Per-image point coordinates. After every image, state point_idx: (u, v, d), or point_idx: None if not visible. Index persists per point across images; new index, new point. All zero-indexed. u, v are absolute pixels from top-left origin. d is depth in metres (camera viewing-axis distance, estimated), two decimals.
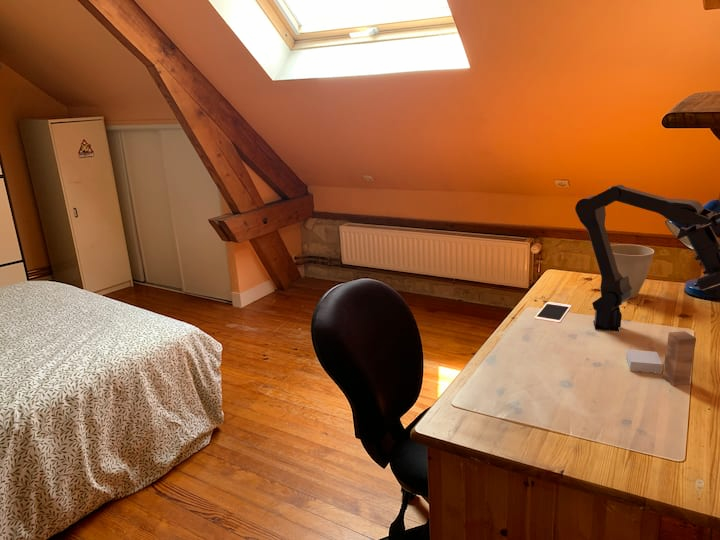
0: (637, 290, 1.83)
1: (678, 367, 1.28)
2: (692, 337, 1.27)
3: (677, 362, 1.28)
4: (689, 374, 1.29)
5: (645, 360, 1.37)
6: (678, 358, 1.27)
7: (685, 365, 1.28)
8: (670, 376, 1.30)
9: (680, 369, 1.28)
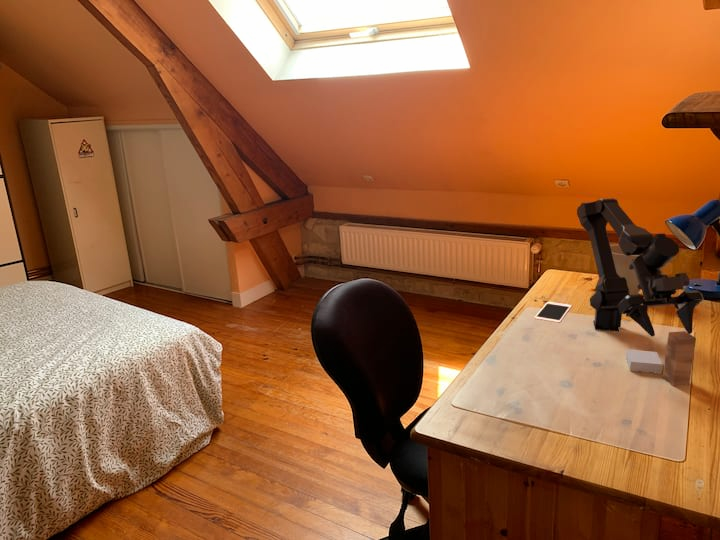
0: (637, 290, 1.83)
1: (678, 367, 1.28)
2: (692, 337, 1.27)
3: (677, 362, 1.28)
4: (689, 374, 1.29)
5: (645, 360, 1.37)
6: (678, 358, 1.27)
7: (685, 365, 1.28)
8: (670, 376, 1.30)
9: (680, 369, 1.28)
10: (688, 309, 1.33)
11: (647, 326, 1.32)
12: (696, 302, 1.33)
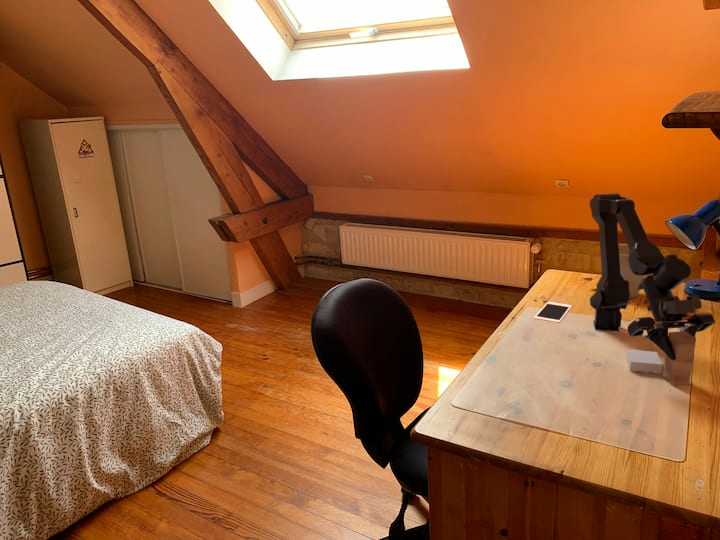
0: (637, 290, 1.83)
1: (678, 367, 1.28)
2: (692, 337, 1.26)
3: (677, 362, 1.28)
4: (689, 374, 1.29)
5: (645, 360, 1.37)
6: (678, 358, 1.27)
7: (685, 365, 1.28)
8: (670, 376, 1.30)
9: (680, 369, 1.28)
10: (690, 333, 1.29)
11: (668, 349, 1.29)
12: (698, 326, 1.29)
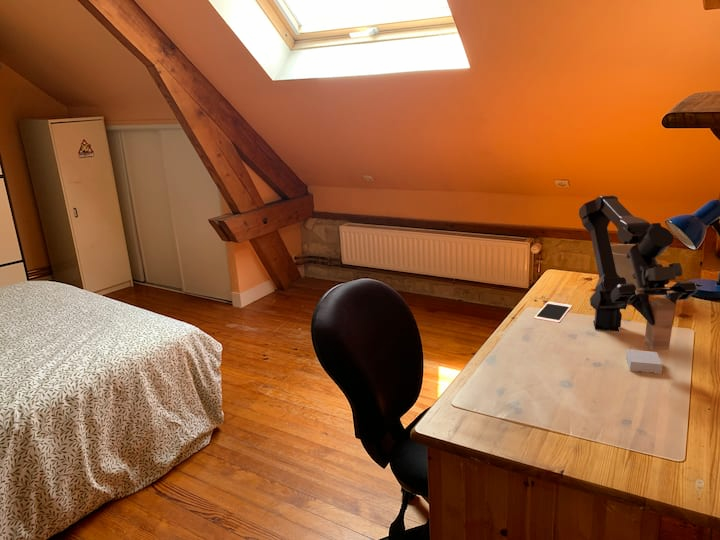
0: None
1: (657, 333, 1.32)
2: (672, 303, 1.30)
3: (656, 327, 1.31)
4: (668, 339, 1.32)
5: (645, 360, 1.37)
6: (657, 323, 1.31)
7: (664, 331, 1.32)
8: (650, 341, 1.34)
9: (659, 334, 1.32)
10: (671, 300, 1.33)
11: (647, 315, 1.32)
12: (679, 293, 1.32)
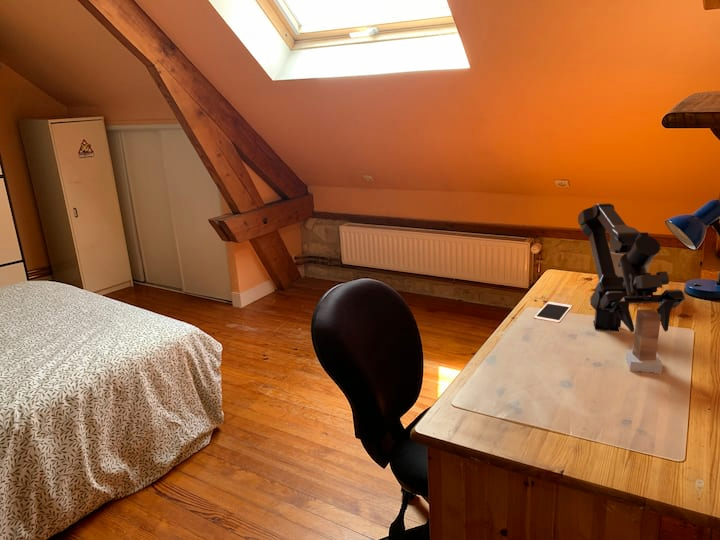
0: None
1: (644, 342, 1.36)
2: (657, 314, 1.34)
3: (643, 337, 1.35)
4: (655, 349, 1.36)
5: (645, 360, 1.37)
6: (644, 333, 1.35)
7: (650, 341, 1.35)
8: (637, 351, 1.38)
9: (646, 344, 1.36)
10: (666, 307, 1.36)
11: (627, 322, 1.36)
12: (674, 301, 1.35)
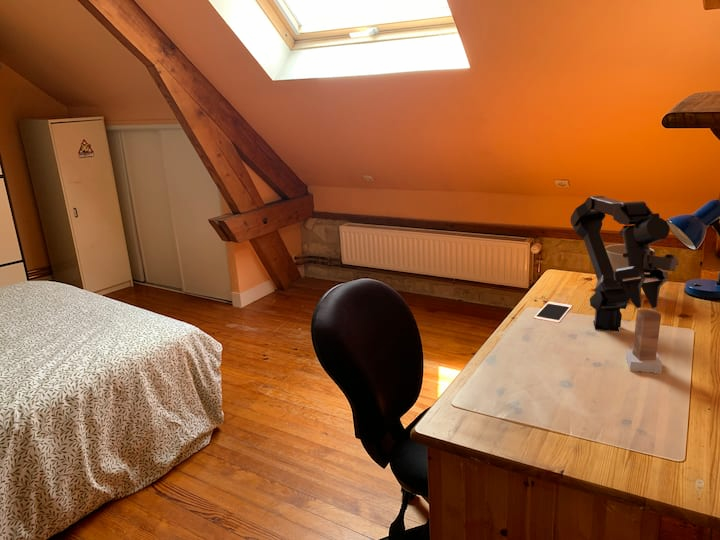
0: None
1: (644, 342, 1.36)
2: (658, 314, 1.34)
3: (643, 337, 1.35)
4: (655, 349, 1.36)
5: (645, 360, 1.37)
6: (644, 333, 1.35)
7: (650, 341, 1.35)
8: (637, 351, 1.38)
9: (646, 344, 1.36)
10: (658, 286, 1.45)
11: (637, 298, 1.38)
12: (665, 281, 1.45)
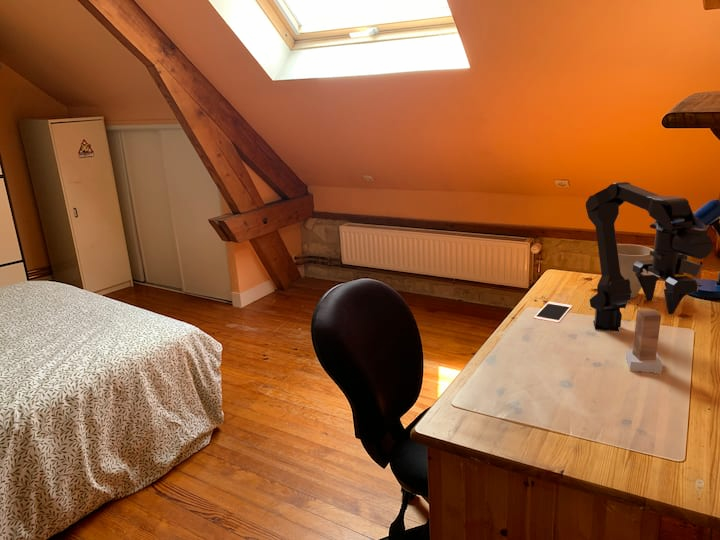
0: (637, 290, 1.83)
1: (644, 342, 1.36)
2: (658, 314, 1.34)
3: (643, 337, 1.35)
4: (655, 349, 1.36)
5: (645, 360, 1.37)
6: (644, 333, 1.35)
7: (650, 341, 1.35)
8: (637, 351, 1.38)
9: (646, 344, 1.36)
10: None
11: (675, 306, 1.36)
12: None
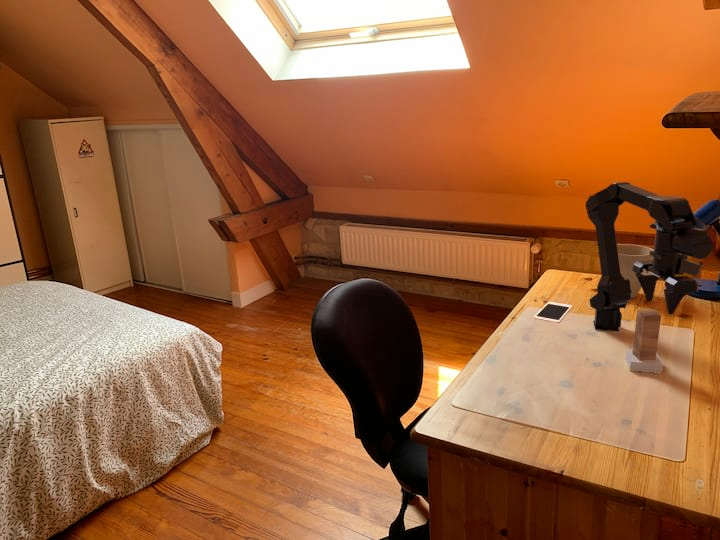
0: (637, 290, 1.83)
1: (644, 342, 1.36)
2: (658, 314, 1.34)
3: (643, 337, 1.35)
4: (655, 349, 1.36)
5: (645, 360, 1.37)
6: (644, 333, 1.35)
7: (650, 341, 1.35)
8: (637, 351, 1.38)
9: (646, 344, 1.36)
10: None
11: (675, 306, 1.36)
12: None
